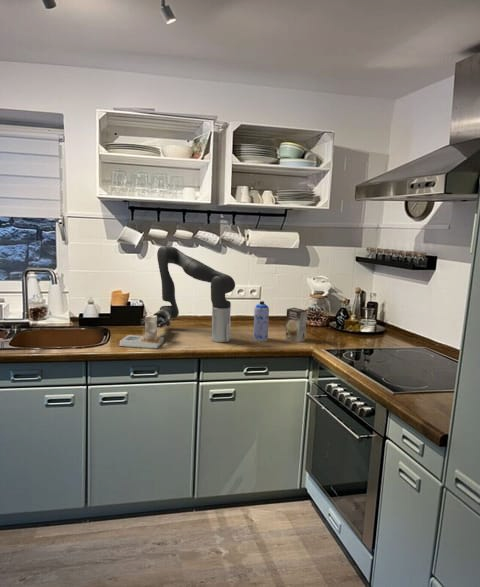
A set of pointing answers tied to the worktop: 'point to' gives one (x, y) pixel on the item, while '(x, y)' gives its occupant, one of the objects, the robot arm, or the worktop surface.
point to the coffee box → (296, 324)
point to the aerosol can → (261, 322)
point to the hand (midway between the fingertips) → (152, 324)
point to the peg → (151, 327)
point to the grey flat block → (140, 342)
